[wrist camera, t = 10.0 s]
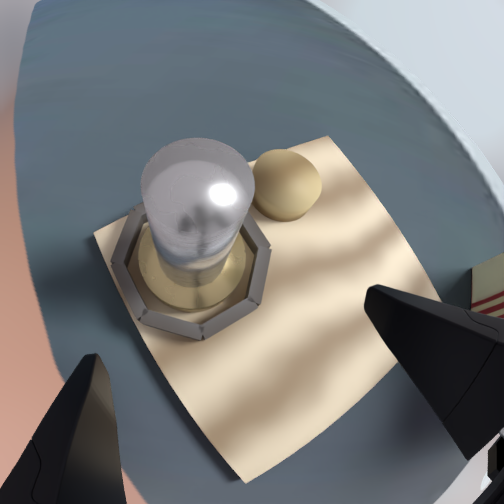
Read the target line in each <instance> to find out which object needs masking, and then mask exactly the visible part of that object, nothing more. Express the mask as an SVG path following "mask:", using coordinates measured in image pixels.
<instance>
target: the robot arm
mask: <svg viewBox="0 0 504 504" xmlns="http://www.w3.org/2000/svg"><path fill="white" fill-rule="evenodd" d="M364 311H365V313H366V314H367V316H368V318H369V319H370V321H371V322H372V324H373V326H374V327H375V329H376V330H377V332H378V334H379V335H380V337H381V338H382V340H383V342H384V343H385V344H386V346H387V347H388V349H389V350H390V351H391V352H392V354H393V355H394V356H395V358H396V359H397V360H398V362H399V363H400V364H401V366H402V367H403V369H404V370H405V371H406V373H407V374H408V375H409V377H410V378H411V379H412V381H413V382H414V384H415V385H416V386H417V388H418V389H419V390H420V392H421V393H422V395H423V396H424V397H425V399H426V400H427V402H428V403H429V405H430V406H431V407H432V409H433V410H434V412H435V413H436V415H437V416H438V417H439V419H440V420H441V422H443V423H442V424H443V425H444V427H445V428H446V429H447V431H448V432H449V434H450V435H451V437H452V438H453V440H454V442H455V443H456V445H457V446H458V448H459V449H460V451H461V452H462V454H463V455H464V457H465V458H466V459H467V460H470V459H471V458H472V457H473V456H474V455H475V454H476V453H478V451H480V450H481V449H482V448H483V447H484V446H485V445H486V444H487V443H488V442H489V441H491V440H492V439H493V438H494V437H495V436H496V435H497V434H498V433H499V434H500V437H499V438H498V439H497V440H496V442H495V443H494V444H493V445H492V447H491V448H490V449H489V450H488V474H487V476H488V477H489V478H490V479H491V480H492V482H491V484H490V485H489V486H488V487H487V488H486V489H485V491H484V492H483V493H482V494H481V495H480V496H479V497H478V498H477V499H476V501H475V502H474V503H473V504H504V319H503V318H498V317H494V316H489V315H485V314H481V313H477V312H474V311H470V310H467V309H462V308H460V307H456V306H453V305H449V304H446V303H443V302H439V301H436V300H432V299H429V298H425V297H422V296H418V295H415V294H411V293H408V292H404V291H401V290H398V289H394V288H391V287H387V286H384V285H380V284H375V285H373V286H370V287H368V289H367V292H366V297H365V301H364ZM0 504H127V502H126V497H125V491H124V485H123V479H122V472H121V464H120V455H119V446H118V435H117V423H116V417H115V411H114V405H113V399H112V392H111V385H110V378H109V374H108V372H107V370H106V368H105V366H104V364H103V362H102V360H101V358H100V356H99V355H98V354H96V353H94V354H87V355H85V356H84V357H83V358H82V360H81V361H80V362H79V364H78V365H77V367H76V368H75V370H74V371H73V373H72V374H71V376H70V377H69V379H68V380H67V382H66V383H65V385H64V386H63V388H62V390H61V391H60V392H59V394H58V396H57V397H56V398H55V400H54V402H53V403H52V405H51V406H50V408H49V410H48V411H47V413H46V414H45V416H44V418H43V419H42V421H41V423H40V424H39V426H38V428H37V429H36V431H35V433H34V434H33V436H32V440H30V441H29V443H28V445H27V446H26V449H25V450H24V452H23V453H22V455H21V457H20V459H19V460H18V462H17V463H16V465H15V467H14V468H13V470H12V471H11V473H10V474H9V476H8V477H7V479H6V480H5V482H4V483H3V485H2V487H1V488H0Z"/></svg>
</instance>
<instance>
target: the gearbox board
mask: <svg viewBox="0 0 504 504" xmlns="http://www.w3.org/2000/svg"><path fill="white" fill-rule="evenodd" d="M248 164H249V166H250V168H251V170H252V173H253V176H254V181H255V191H254V196H253V199H252V202H251V205H250V207H249V209H248V212H247V214H246V216H245V218H244V221H243V223H242V225H241V228H240V230H239V234H240V235H241V238H242V240H243V243H244V247H245V253H246V262H245V268H244V272H243V275H242V277H241V279H240V281H239V283H238V285H237V286H236V288H235V289H234V290H233V292H232V293H231V294H230V296H229V297H228V298H227V299H226V300H225V301H223V302H222V303H221V304H219V305H218V306H216V307H214V308H212V309H209V310H206V311H202V312H194V313H190V312H182V311H178V310H175V309H172V308H170V307H168V306H166V305H164V304H163V303H162V302H160V301H159V300H158V299H157V298H156V297H155V296H154V295H153V294H152V292H151V291H150V289H149V288H148V286H147V284H146V282H145V281H144V278H143V276H142V274H141V271H140V267H139V260H138V252H139V246H140V242H141V239H142V237H143V235H144V233H145V231H146V230H147V228H148V227H149V223H148V219H147V215H146V210H145V206H144V202H142V203H140V204H138V205H136V206H134V210H135V211H134V210H130V212H129V215H127V216H125V217H123V218H121V219H119V220H117V221H115V222H113V223H111V224H109V225H107V226H105V227H103V228H101V229H100V230H98V231H96V232H94V235H95V238H96V240H97V243H98V245H99V248H100V250H101V253H102V255H103V258H104V260H105V262H106V265H107V267H108V269H109V271H110V274H111V276H112V278H113V280H114V282H115V285H116V287H117V289H118V291H119V293H120V295H121V297H122V299H123V301H124V303H125V305H126V307H127V309H128V311H129V313H130V315H131V317H132V319H133V321H134V323H135V325H136V327H137V329H138V330H139V332H140V334H141V336H142V338H143V340H144V341H145V343H146V345H147V347H148V348H149V350H150V352H151V354H152V355H153V357H154V359H155V360H156V362H157V364H158V366H159V367H160V369H161V370H162V372H163V374H164V375H165V377H166V379H167V380H168V382H169V383H170V385H171V386H172V388H173V389H174V391H175V393H176V394H177V396H178V397H179V399H180V400H181V402H182V403H183V404H184V406H185V407H186V409H187V410H188V412H189V413H190V415H191V416H192V417H193V419H194V420H195V422H196V423H197V424H198V426H199V427H200V428H201V430H202V431H203V432H204V434H205V435H206V436H207V438H208V439H209V440H210V442H211V443H212V444H213V445H214V447H215V448H216V449H217V451H218V452H219V453H220V454H221V455H222V457H223V458H224V459H225V460H226V462H227V463H228V464H229V465H230V466H231V468H232V469H233V470H234V471H235V472H236V473H237V474H238V476H239V477H240V478H241V479H242V480H243V481H244V482H245V483H247V482H249V481H251V480H252V479H254V478H256V477H257V476H259V475H261V474H262V473H264V472H266V471H267V470H269V469H270V468H272V467H274V466H275V465H277V464H278V463H280V462H281V461H283V460H284V459H286V458H287V457H289V456H290V455H291V454H293V453H294V452H296V451H297V450H298V449H300V448H301V447H303V446H304V445H305V444H307V443H308V442H309V441H311V440H312V439H313V438H315V437H316V436H317V435H319V434H320V433H321V432H322V431H324V430H325V429H326V428H327V427H329V426H330V425H331V424H332V423H334V422H335V421H336V420H337V419H338V418H339V417H341V416H342V415H343V414H344V413H345V412H346V411H348V410H349V409H350V408H351V407H352V406H353V405H354V404H355V403H357V402H358V401H359V400H360V399H361V398H362V397H363V396H364V395H365V394H366V393H367V392H368V391H369V390H370V389H372V388H373V387H374V386H375V385H376V384H377V383H378V382H379V381H380V380H381V379H382V378H383V377H384V376H385V375H386V374H387V373H388V371H389V370H390V369H391V368H392V367H393V366H394V365H395V364H396V363H397V362H398V360H397V359H396V358H395V356H394V355H393V354H392V352H391V351H390V350H389V349H388V347H387V346H386V344H385V343H384V342H383V340H382V338H381V337H380V335H379V334H378V332H377V330H376V329H375V327H374V326H373V324H372V322H371V321H370V319H369V318H368V316H367V314H366V313H365V311H364V301H365V297H366V292H367V289H368V287H370V286H373V285H375V284H380V285H384V286H387V287H391V288H394V289H398V290H401V291H404V292H408V293H411V294H415V295H418V296H422V297H425V298H429V299H432V300H436V301H439V302H441V300H440V298H439V296H438V294H437V292H436V290H435V288H434V287H433V285H432V283H431V281H430V279H429V278H428V276H427V274H426V272H425V271H424V269H423V267H422V265H421V264H420V262H419V260H418V259H417V257H416V255H415V254H414V252H413V251H412V249H411V247H410V246H409V244H408V243H407V241H406V239H405V238H404V236H403V235H402V233H401V232H400V230H399V229H398V227H397V226H396V224H395V223H394V221H393V220H392V218H391V217H390V215H389V214H388V212H387V211H386V209H385V208H384V207H383V205H382V204H381V202H380V201H379V200H378V198H377V197H376V195H375V194H374V193H373V191H372V190H371V189H370V187H369V186H368V185H367V183H366V182H365V181H364V179H363V178H362V177H361V175H360V174H359V173H358V172H357V170H356V169H355V168H354V167H353V165H352V164H351V163H350V162H349V160H348V159H347V158H346V157H345V155H344V154H343V153H342V152H341V151H340V149H339V148H338V147H337V146H336V145H335V143H334V142H333V141H332V140H331V139H330V138H329V136H326V137H322V138H319V139H316V140H313V141H310V142H307V143H304V144H300V145H297V146H294V147H291V148H288V149H286V150H283V149H276V150H271V151H268V152H265V153H264V154H262V155H261V156H260V157H259V158H258V159H257V160H255V161H252V162H249V163H248Z"/></svg>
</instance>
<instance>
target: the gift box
mask: <svg viewBox="0 0 504 504" xmlns="http://www.w3.org/2000/svg"><path fill="white" fill-rule="evenodd" d="M471 311H474V312H477V313H481V314H485V315H489V316H494V317H498V318H503V319H504V252H503V253H501V254H499V255H497V256H495V257H493V258H491V259H489V260H487V261H485V262H483V263H481V264H479V265H476V266H474V267H472V296H471Z"/></svg>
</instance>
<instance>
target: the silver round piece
mask: <svg viewBox="0 0 504 504" xmlns="http://www.w3.org/2000/svg"><path fill="white" fill-rule="evenodd" d="M254 191H255V181H254V176H253V173H252V170H251V168H250V166H249V164H248V163H247V161H246V160H245V159H244V158H243V156H242V155H241V154H239V153H238V152H237V151H236V150H234V149H233V148H232V147H230V146H228V145H226V144H224V143H222V142H219V141H216V140H212V139H206V138H188V139H183V140H179V141H175V142H173V143H171V144H168V145H166V146H165V147H163V148H161V149H160V150H159V151H158V152H156V153H155V154H154V155H153V156H152V157H151V159H150V160H149V161H148V163H147V165H146V166H145V168H144V171H143V174H142V178H141V193H142V197H143V202H144V206H145V210H146V215H147V219H148V223H149V227H148V228H147V230H146V231H145V233H144V235H143V237H142V239H141V242H140V246H139V252H138V260H139V267H140V271H141V274H142V276H143V278H144V281H145V282H146V284H147V286H148V288H149V289H150V291H151V292H152V294H153V295H154V296H155V297H156V298H157V299H158V300H159V301H160V302H162V303H163V304H164V305H166V306H168V307H170V308H172V309H175V310H178V311H182V312H190V313H194V312H202V311H206V310H209V309H212V308H214V307H216V306H218V305H219V304H221V303H222V302H223V301H225V300H226V299H227V298H228V297H229V296H230V294H231V293H232V292H233V290H234V289H235V288H236V286H237V285H238V283H239V281H240V279H241V277H242V275H243V272H244V268H245V262H246V253H245V247H244V243H243V240H242V238H241V235H240V234H239V230H240V228H241V225H242V223H243V221H244V218H245V216H246V214H247V212H248V209H249V207H250V205H251V202H252V199H253V196H254Z"/></svg>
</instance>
